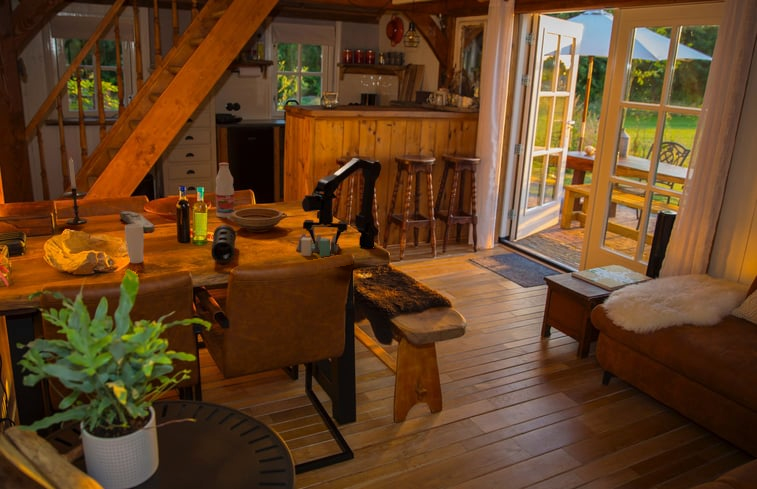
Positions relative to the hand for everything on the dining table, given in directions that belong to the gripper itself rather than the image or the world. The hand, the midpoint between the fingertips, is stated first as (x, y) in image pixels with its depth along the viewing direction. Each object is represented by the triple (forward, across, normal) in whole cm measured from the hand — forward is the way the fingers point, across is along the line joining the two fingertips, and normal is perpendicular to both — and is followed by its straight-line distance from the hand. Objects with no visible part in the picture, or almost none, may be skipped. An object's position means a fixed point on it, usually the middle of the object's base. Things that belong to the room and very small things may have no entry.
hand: (325, 244), depth 259 cm
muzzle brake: (+5, +42, +6) cm, 43 cm away
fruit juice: (+5, +59, -60) cm, 85 cm away
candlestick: (+5, +125, -34) cm, 130 cm away
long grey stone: (+5, +96, -36) cm, 103 cm away
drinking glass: (+5, +74, +20) cm, 77 cm away
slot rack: (+5, +4, -9) cm, 11 cm away
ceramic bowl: (+5, +37, -38) cm, 53 cm away
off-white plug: (+5, +8, 0) cm, 9 cm away
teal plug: (+5, 0, 0) cm, 5 cm away
